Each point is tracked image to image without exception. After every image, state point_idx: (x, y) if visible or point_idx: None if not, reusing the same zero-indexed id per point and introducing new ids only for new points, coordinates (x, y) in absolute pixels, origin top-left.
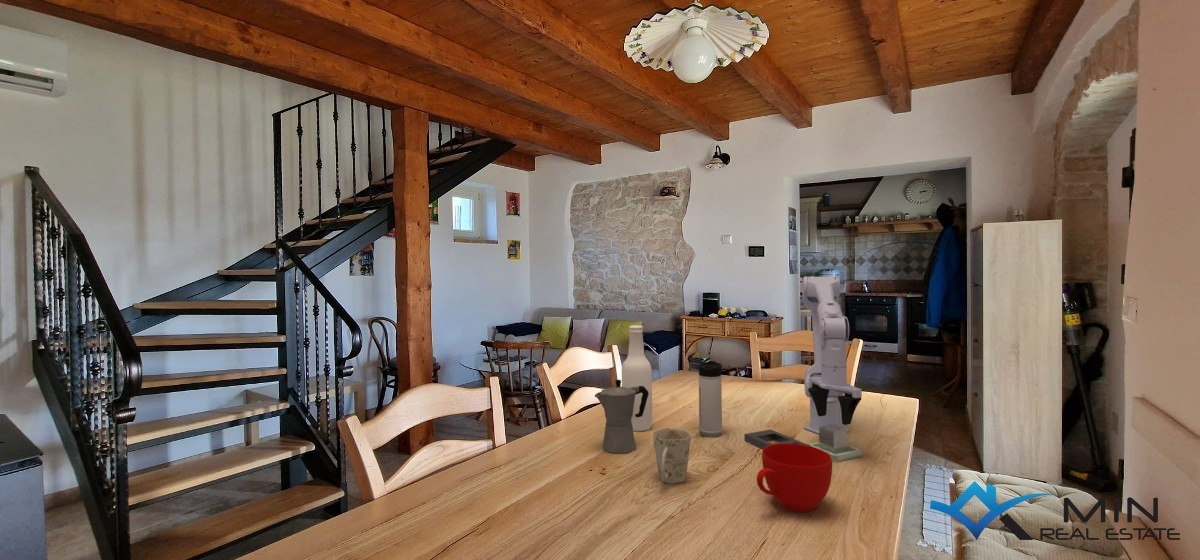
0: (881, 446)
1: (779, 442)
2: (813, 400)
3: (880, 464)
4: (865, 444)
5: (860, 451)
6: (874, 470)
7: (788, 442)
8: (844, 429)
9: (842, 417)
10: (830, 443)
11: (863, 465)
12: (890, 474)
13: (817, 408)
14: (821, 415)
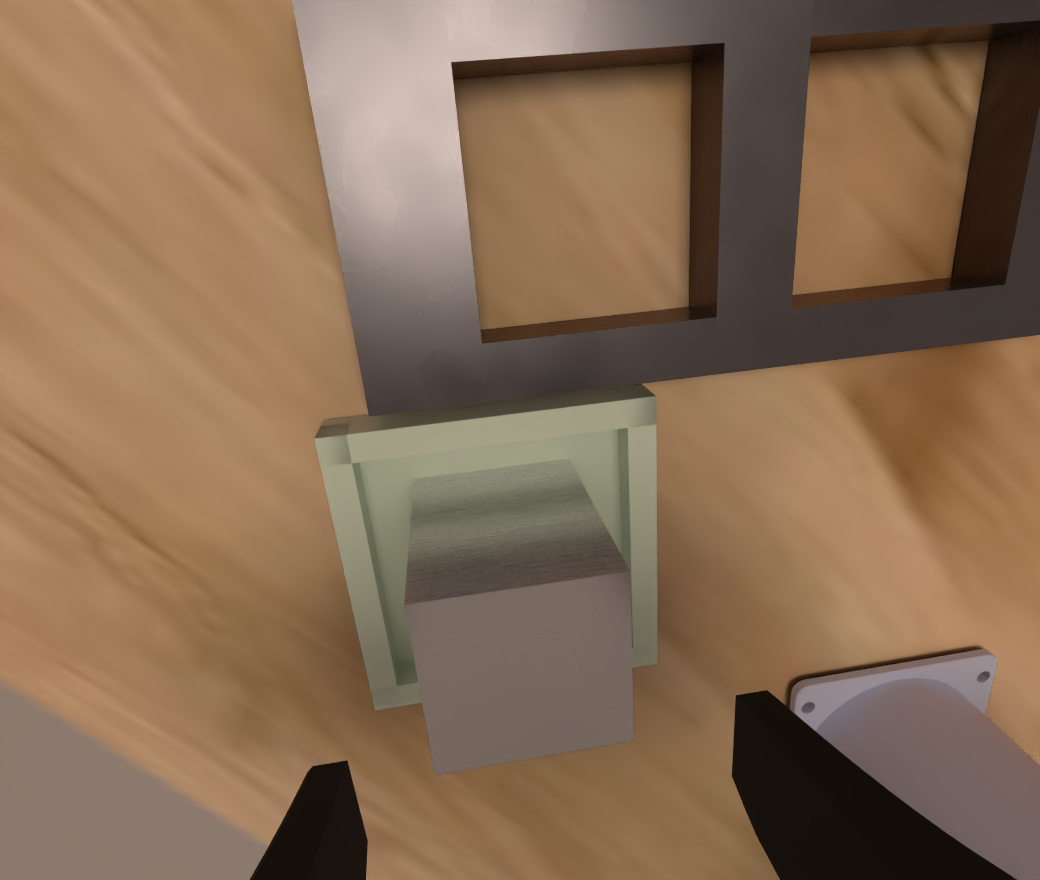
0: (493, 867)
1: (799, 150)
2: (991, 865)
3: (208, 688)
4: (559, 811)
5: (370, 687)
6: (102, 583)
7: (754, 245)
8: (429, 743)
9: (299, 848)
10: (451, 519)
11: (215, 575)
12: (7, 633)
13: (818, 767)
14: (739, 726)
